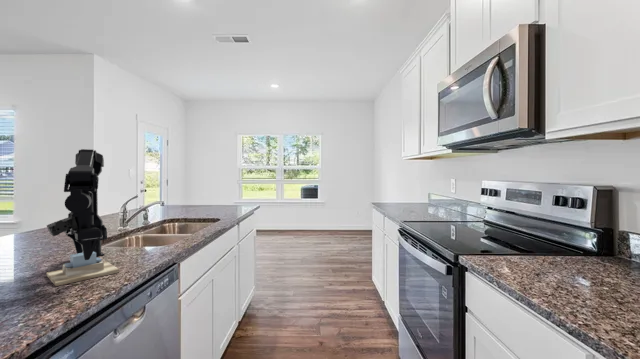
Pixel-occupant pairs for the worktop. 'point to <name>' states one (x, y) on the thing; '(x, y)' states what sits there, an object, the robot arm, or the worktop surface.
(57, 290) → the worktop surface
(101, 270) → the chassis pocket
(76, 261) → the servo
